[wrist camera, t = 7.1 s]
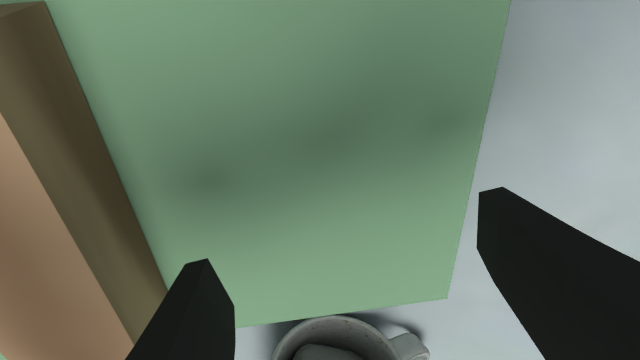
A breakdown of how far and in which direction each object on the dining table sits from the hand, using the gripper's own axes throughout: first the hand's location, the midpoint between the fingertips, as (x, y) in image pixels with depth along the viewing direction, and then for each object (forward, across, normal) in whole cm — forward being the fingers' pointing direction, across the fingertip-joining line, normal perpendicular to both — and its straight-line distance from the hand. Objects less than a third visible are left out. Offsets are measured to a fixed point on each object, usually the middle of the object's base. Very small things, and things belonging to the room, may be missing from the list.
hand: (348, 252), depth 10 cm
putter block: (+5, +9, -1) cm, 10 cm away
